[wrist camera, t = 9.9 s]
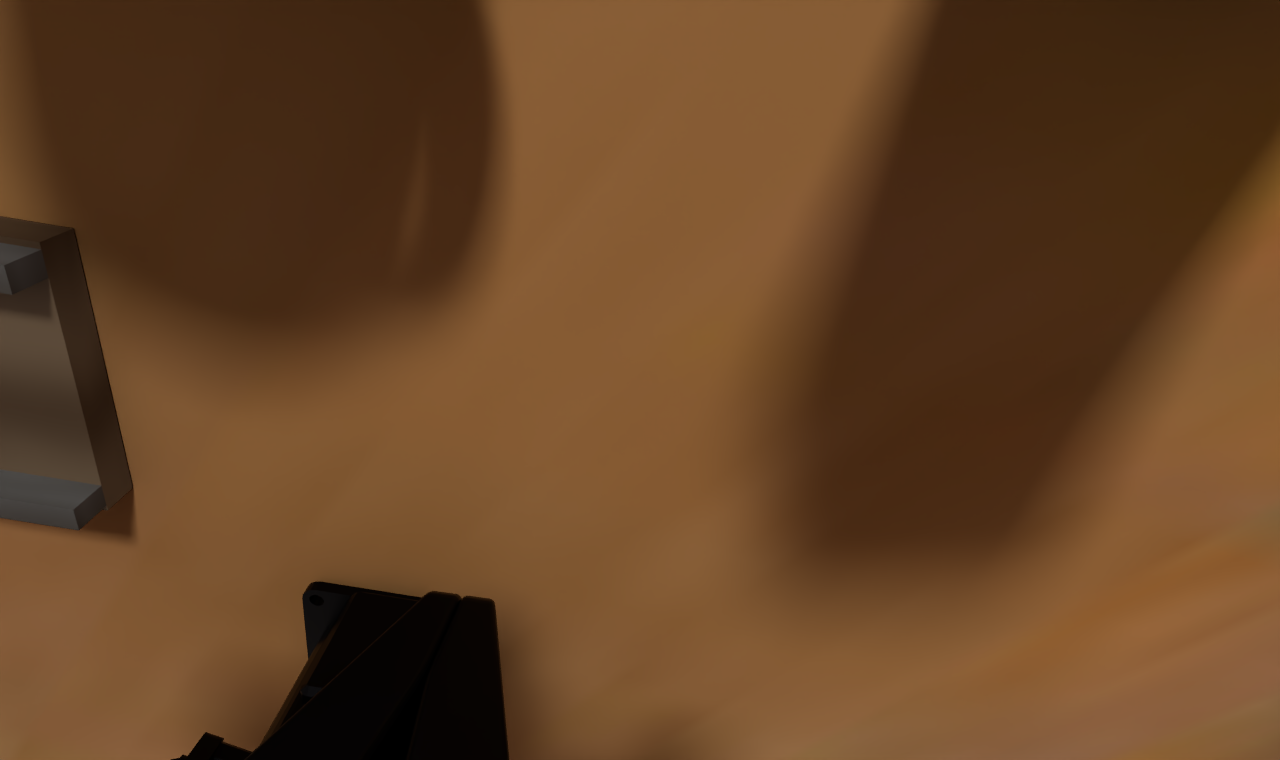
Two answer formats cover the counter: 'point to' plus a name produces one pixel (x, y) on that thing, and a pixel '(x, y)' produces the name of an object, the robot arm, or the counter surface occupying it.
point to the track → (53, 385)
